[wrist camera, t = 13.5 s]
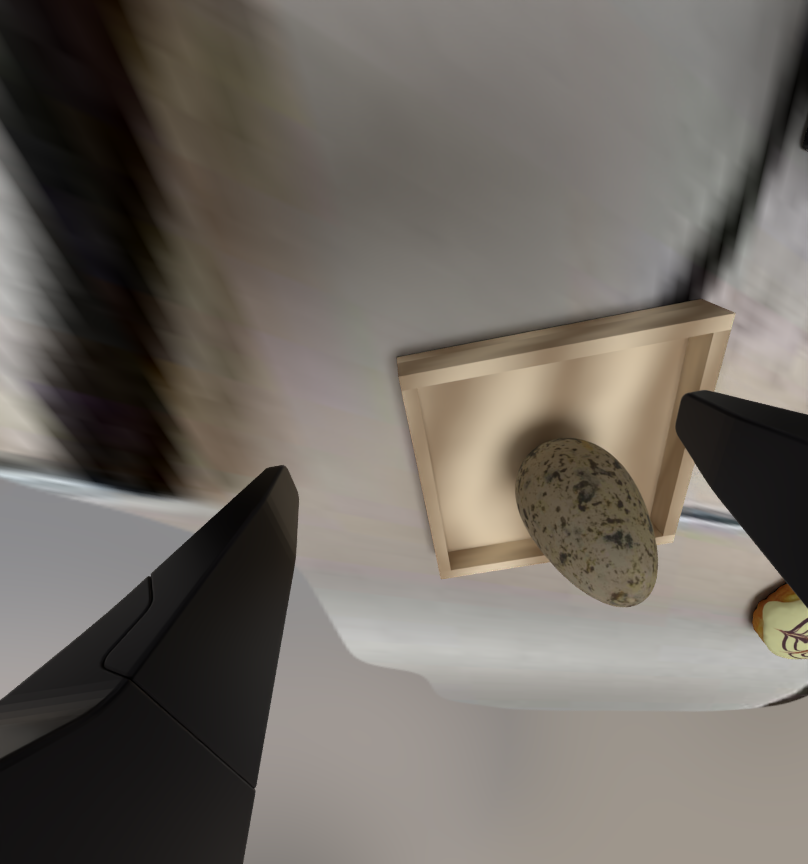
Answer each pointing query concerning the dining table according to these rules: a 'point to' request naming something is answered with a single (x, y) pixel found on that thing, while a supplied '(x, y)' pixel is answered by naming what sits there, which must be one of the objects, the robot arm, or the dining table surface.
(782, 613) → the decorated donut
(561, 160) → the dining table surface
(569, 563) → the decorative egg
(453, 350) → the wooden tray
